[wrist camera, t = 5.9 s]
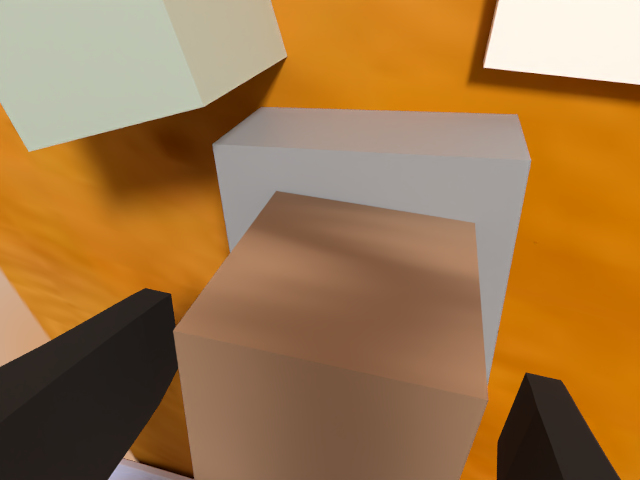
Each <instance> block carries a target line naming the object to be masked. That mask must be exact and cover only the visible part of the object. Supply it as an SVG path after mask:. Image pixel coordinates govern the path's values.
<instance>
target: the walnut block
mask: <svg viewBox="0 0 640 480" xmlns="http://www.w3.org/2000/svg"><path fill="white" fill-rule="evenodd" d="M173 333H174V340H175V347H176V354H177V361H178V368H179V375H180V382H181V389H182V396H183V403H184V410H185V417H186V424H187V431H188V438H189V445H190V452H191V459H192V466H193V473H194V480H459V479H460V476H461V474H462V471H463V468H464V465H465V463H466V460H467V457H468V454H469V452H470V449H471V446H472V443H473V441H474V438H475V435H476V432H477V430H478V427H479V424H480V421H481V419H482V416H483V413H484V411H485V408H486V405H487V402H488V390H487V377H486V363H485V350H484V337H483V323H482V310H481V297H480V283H479V270H478V257H477V243H476V230H475V223H472V222H466V221H460V220H454V219H448V218H442V217H436V216H429V215H423V214H417V213H411V212H405V211H398V210H392V209H386V208H380V207H374V206H367V205H361V204H355V203H349V202H342V201H336V200H330V199H324V198H318V197H311V196H305V195H299V194H293V193H287V192H280V191H276V192H275V193H274V195H273V196H272V197H271V199H270V200H269V201H268V203H267V204H266V205H265V207H264V208H263V209H262V211H261V212H260V213H259V215H258V216H257V218H256V219H255V220H254V222H253V223H252V224H251V226H250V227H249V228H248V230H247V231H246V232H245V234H244V235H243V237H242V238H241V239H240V241H239V242H238V243H237V245H236V246H235V247H234V249H233V250H232V251H231V253H230V254H229V256H228V257H227V258H226V260H225V261H224V262H223V264H222V265H221V266H220V268H219V269H218V270H217V272H216V273H215V275H214V276H213V277H212V279H211V280H210V281H209V283H208V284H207V285H206V287H205V288H204V289H203V291H202V292H201V293H200V295H199V296H198V298H197V299H196V300H195V302H194V303H193V304H192V306H191V307H190V308H189V310H188V311H187V312H186V314H185V315H184V317H183V318H182V319H181V321H180V322H179V323H178V325H177V326H176V327H175V329H174V330H173Z"/></svg>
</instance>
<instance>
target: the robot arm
mask: <svg viewBox="0 0 640 480" xmlns="http://www.w3.org/2000/svg"><path fill="white" fill-rule="evenodd" d="M175 327H176V326H175V319H174V312H173V305H172V298H171V294H169V293H165V292H160V291H156V290H151V289H147V288H145V289H143V290H141V291H139V292H137V293H135V294H133V295H131V296H129V297H128V298H126V299H124V300H122V301H120V302H119V303H117V304H115V305H113V306H112V307H110V308H108V309H106V310H104V311H103V312H101V313H99V314H97V315H96V316H94V317H92V318H90V319H89V320H87V321H85V322H83V323H82V324H80V325H78V326H76V327H74V328H73V329H71V330H69V331H67V332H65V333H64V334H62V335H60V336H58V337H56V338H55V339H53V340H51V341H49V342H47V343H46V344H44V345H42V346H40V347H38V348H36V349H34V350H33V351H30V352H29V353H26V354H24V355H23V356H21V357H19V358H17V359H15V360H13V361H11V362H9V363H7V364H5V365H3V366H1V367H0V480H194V479H192V478H188V477H185V476H182V475H178V474H175V473H172V472H168V471H165V470H162V469H158V468H155V467H151V466H148V465H145V464H141V463H138V462H135V461H131V460H128V459H125V458H123V457H124V456H125V454H126V453H127V451H128V450H129V448H130V447H131V446H132V444H133V443H134V441H135V440H136V438H137V437H138V435H139V434H140V432H141V431H142V429H143V428H144V426H145V425H146V424H147V422H148V421H149V419H150V418H151V416H152V415H153V413H154V412H155V410H156V409H157V407H158V406H159V404H160V402H161V400H162V398H163V396H164V395H165V393H166V391H167V389H168V387H169V385H170V383H171V381H172V379H173V377H174V375H175V373H176V371H177V369H178V361H177V354H176V347H175V340H174V333H173V330H174V329H175ZM497 480H621V479H620V478H619V476H618V475H617V473H616V471H615V470H614V468H613V467H612V465H611V463H610V462H609V460H608V458H607V457H606V455H605V453H604V452H603V450H602V448H601V447H600V445H599V443H598V442H597V440H596V438H595V437H594V435H593V433H592V432H591V430H590V428H589V427H588V425H587V423H586V421H585V420H584V418H583V416H582V415H581V413H580V411H579V409H578V408H577V406H576V404H575V402H574V401H573V399H572V397H571V395H570V394H569V392H568V390H567V389H566V387H565V385H564V384H563V382H562V381H561V380H557V379H553V378H548V377H544V376H539V375H535V374H530V373H525V376H524V378H523V381H522V383H521V386H520V388H519V391H518V393H517V396H516V398H515V400H514V403H513V405H512V408H511V410H510V413H509V415H508V418H507V420H506V423H505V425H504V427H503V430H502V432H501V435H500V437H499V440H498V448H497Z"/></svg>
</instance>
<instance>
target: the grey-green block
mask: <svg viewBox="0 0 640 480" xmlns="http://www.w3.org/2000/svg"><path fill="white" fill-rule="evenodd" d="M286 57H287V54H286V50H285V47H284V44H283V40H282V37H281V34H280V30H279V27H278V24H277V20H276V17H275V14H274V10H273V7H272V3H271V0H0V103H1V105H2V106H3V108H4V110H5V111H6V113H7V115H8V117H9V118H10V120H11V122H12V123H13V125H14V127H15V129H16V130H17V132H18V134H19V136H20V137H21V139H22V141H23V142H24V144H25V146H26V148H27V149H28V151H33V150H37V149H41V148H45V147H49V146H53V145H57V144H61V143H65V142H69V141H72V140H76V139H80V138H84V137H88V136H92V135H96V134H100V133H104V132H108V131H112V130H115V129H119V128H123V127H127V126H131V125H135V124H139V123H143V122H147V121H151V120H154V119H158V118H162V117H166V116H170V115H174V114H178V113H182V112H186V111H190V110H194V109H197V108H201V107H205V106H206V105H208V104H210V103H211V102H213V101H215V100H216V99H218V98H220V97H221V96H223V95H224V94H226V93H228V92H229V91H231V90H233V89H234V88H236V87H238V86H239V85H241V84H243V83H244V82H246V81H248V80H249V79H251V78H253V77H254V76H256V75H258V74H259V73H261V72H262V71H264V70H266V69H267V68H269V67H271V66H272V65H274V64H276V63H277V62H279V61H281V60H282V59H284V58H286Z"/></svg>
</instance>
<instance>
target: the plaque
mask: <svg viewBox="0 0 640 480" xmlns="http://www.w3.org/2000/svg"><path fill="white" fill-rule="evenodd" d="M483 66H484V68H492V69H502V70H511V71H520V72H529V73H538V74H547V75H557V76H566V77H575V78H584V79H593V80H602V81H612V82H621V83H630V84H639V85H640V0H497V3H496V7H495V11H494V16H493V20H492V25H491V29H490V34H489V38H488V42H487V47H486V51H485V56H484V60H483Z"/></svg>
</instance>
